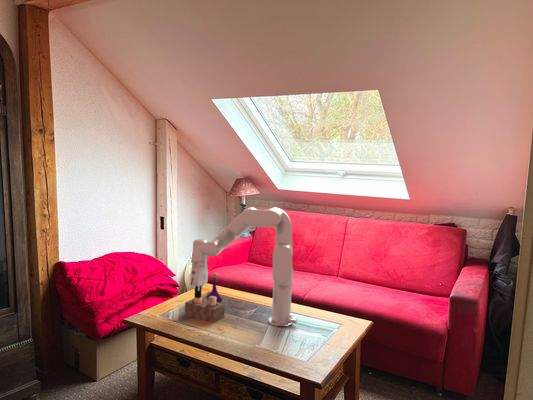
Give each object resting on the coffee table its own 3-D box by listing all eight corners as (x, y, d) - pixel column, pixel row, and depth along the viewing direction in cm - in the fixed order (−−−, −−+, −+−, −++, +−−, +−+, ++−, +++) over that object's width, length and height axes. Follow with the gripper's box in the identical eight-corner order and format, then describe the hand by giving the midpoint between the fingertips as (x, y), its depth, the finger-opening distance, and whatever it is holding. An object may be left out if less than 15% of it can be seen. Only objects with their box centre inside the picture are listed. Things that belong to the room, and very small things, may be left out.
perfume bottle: (205, 302, 231) (207, 271, 230) (218, 301, 235) (219, 270, 233) (209, 306, 225) (211, 275, 223) (222, 305, 228) (223, 274, 226)
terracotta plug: (202, 309, 214) (203, 297, 213) (198, 312, 210) (199, 299, 209) (196, 308, 215) (197, 295, 215) (192, 310, 212) (192, 297, 211)
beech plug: (217, 310, 209) (218, 297, 209) (213, 312, 206) (213, 299, 205) (210, 308, 211) (211, 295, 211) (206, 310, 208) (207, 297, 207)
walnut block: (224, 316, 211) (224, 303, 211) (213, 323, 202) (214, 309, 202) (196, 309, 219) (196, 297, 219) (184, 315, 210) (185, 302, 210)
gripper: (196, 267, 202) (195, 302, 204) (213, 261, 215) (211, 294, 217) (184, 264, 205) (183, 299, 207) (201, 259, 219) (200, 292, 220)
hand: (197, 297), depth 212 cm, fingers closed
